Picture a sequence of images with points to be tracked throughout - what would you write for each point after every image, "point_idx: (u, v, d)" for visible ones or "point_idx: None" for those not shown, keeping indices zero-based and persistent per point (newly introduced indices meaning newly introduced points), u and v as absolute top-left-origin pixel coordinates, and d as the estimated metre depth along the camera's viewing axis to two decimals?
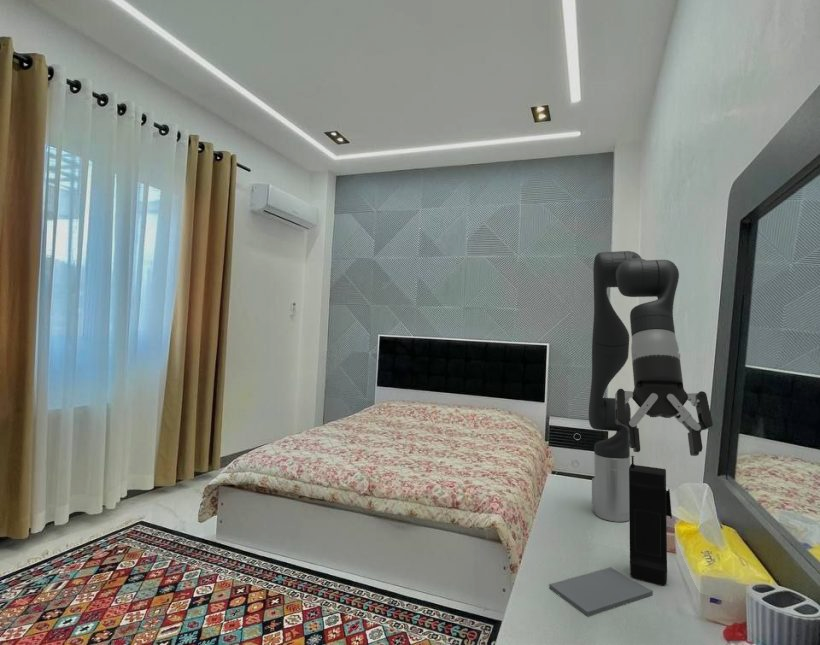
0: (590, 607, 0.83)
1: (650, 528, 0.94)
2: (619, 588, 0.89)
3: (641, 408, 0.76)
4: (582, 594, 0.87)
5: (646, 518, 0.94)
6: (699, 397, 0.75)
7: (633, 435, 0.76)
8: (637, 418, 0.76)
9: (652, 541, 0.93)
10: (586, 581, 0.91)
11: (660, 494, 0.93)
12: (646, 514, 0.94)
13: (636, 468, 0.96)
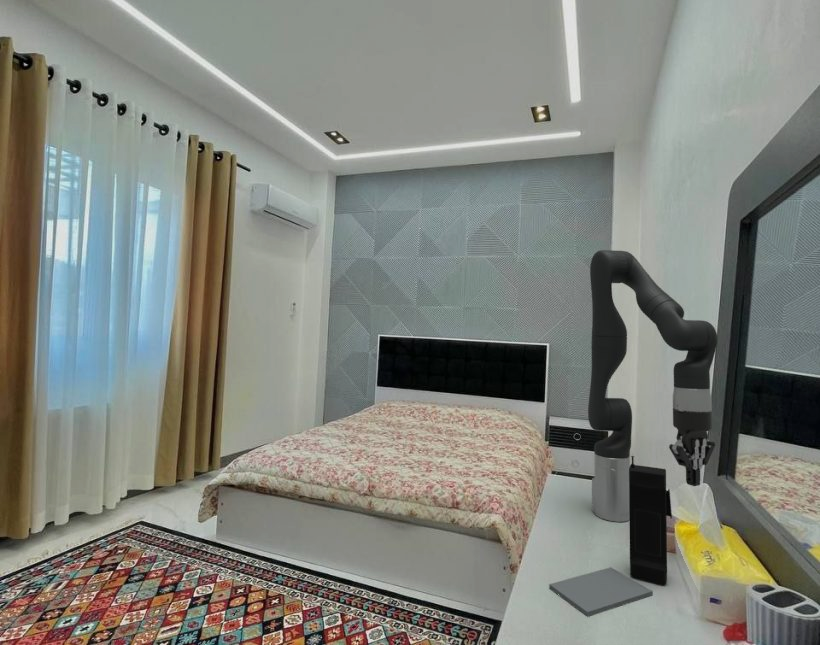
0: (590, 607, 0.83)
1: (650, 528, 0.94)
2: (619, 588, 0.89)
3: (695, 455, 0.99)
4: (582, 594, 0.87)
5: (646, 518, 0.94)
6: (711, 445, 1.03)
7: (693, 475, 1.00)
8: (695, 461, 1.00)
9: (652, 541, 0.93)
10: (586, 581, 0.91)
11: (660, 494, 0.93)
12: (646, 514, 0.94)
13: (636, 468, 0.96)
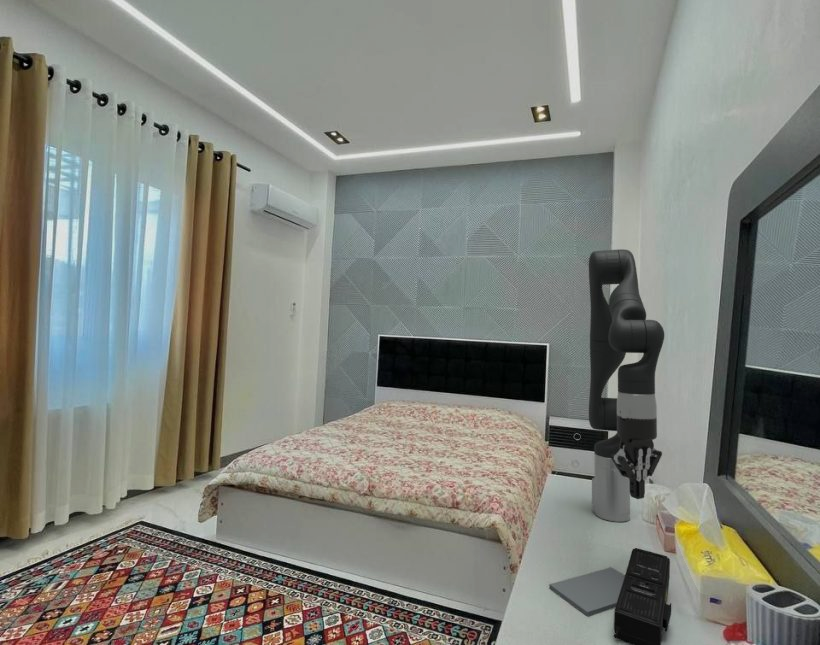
0: (590, 607, 0.83)
1: None
2: (619, 588, 0.89)
3: (639, 465, 0.92)
4: (582, 594, 0.87)
5: None
6: (657, 454, 0.95)
7: (637, 487, 0.93)
8: (639, 472, 0.93)
9: None
10: (586, 581, 0.91)
11: None
12: None
13: (623, 630, 0.74)
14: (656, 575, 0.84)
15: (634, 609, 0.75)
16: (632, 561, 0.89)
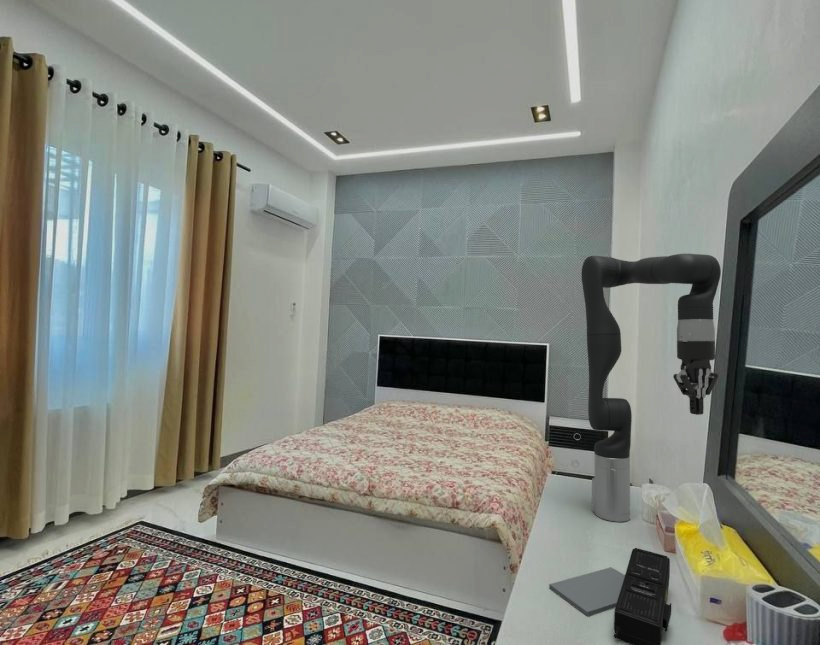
0: (590, 607, 0.83)
1: None
2: (619, 588, 0.89)
3: (699, 383, 1.02)
4: (582, 594, 0.87)
5: None
6: (714, 376, 1.05)
7: (697, 404, 1.03)
8: (699, 390, 1.03)
9: None
10: (586, 581, 0.91)
11: None
12: None
13: (623, 630, 0.74)
14: (656, 575, 0.84)
15: (634, 609, 0.75)
16: (632, 561, 0.89)
